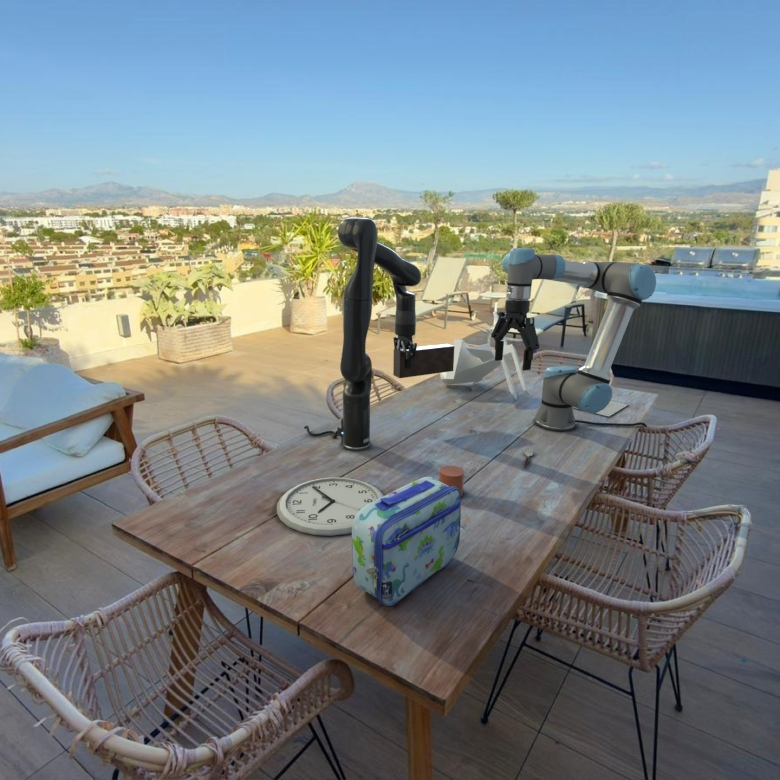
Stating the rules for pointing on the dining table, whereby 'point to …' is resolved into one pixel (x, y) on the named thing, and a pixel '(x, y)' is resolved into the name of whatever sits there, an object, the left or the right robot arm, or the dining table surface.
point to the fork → (528, 455)
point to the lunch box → (405, 538)
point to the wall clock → (325, 505)
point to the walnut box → (425, 361)
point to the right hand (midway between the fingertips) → (512, 365)
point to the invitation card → (611, 408)
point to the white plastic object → (482, 364)
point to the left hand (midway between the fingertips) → (404, 366)
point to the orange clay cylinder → (452, 477)
